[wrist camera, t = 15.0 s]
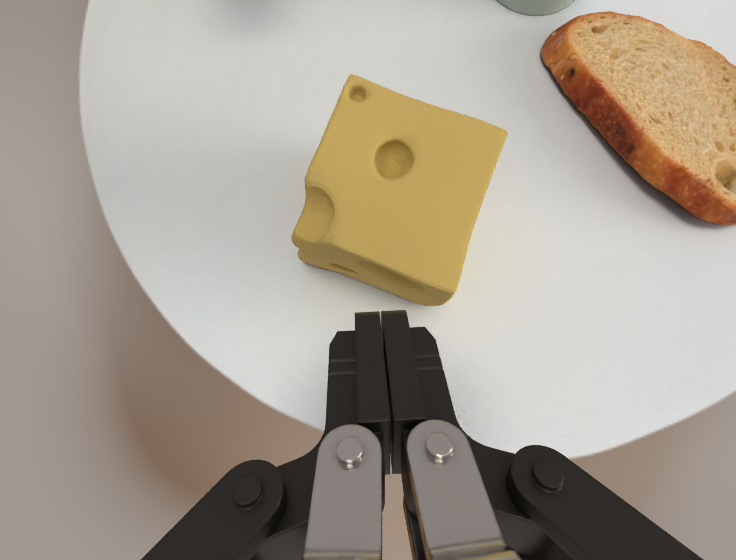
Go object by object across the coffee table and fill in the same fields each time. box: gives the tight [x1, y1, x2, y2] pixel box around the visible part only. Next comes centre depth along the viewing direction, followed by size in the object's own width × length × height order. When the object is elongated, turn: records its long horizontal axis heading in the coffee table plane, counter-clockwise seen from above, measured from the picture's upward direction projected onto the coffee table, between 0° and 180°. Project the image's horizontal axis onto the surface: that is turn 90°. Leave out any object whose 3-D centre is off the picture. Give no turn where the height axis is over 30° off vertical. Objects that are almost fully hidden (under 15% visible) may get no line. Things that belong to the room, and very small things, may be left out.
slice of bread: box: [541, 12, 736, 225], centre depth 30 cm, size 18×18×4 cm
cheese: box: [292, 74, 507, 306], centre depth 26 cm, size 10×11×10 cm
